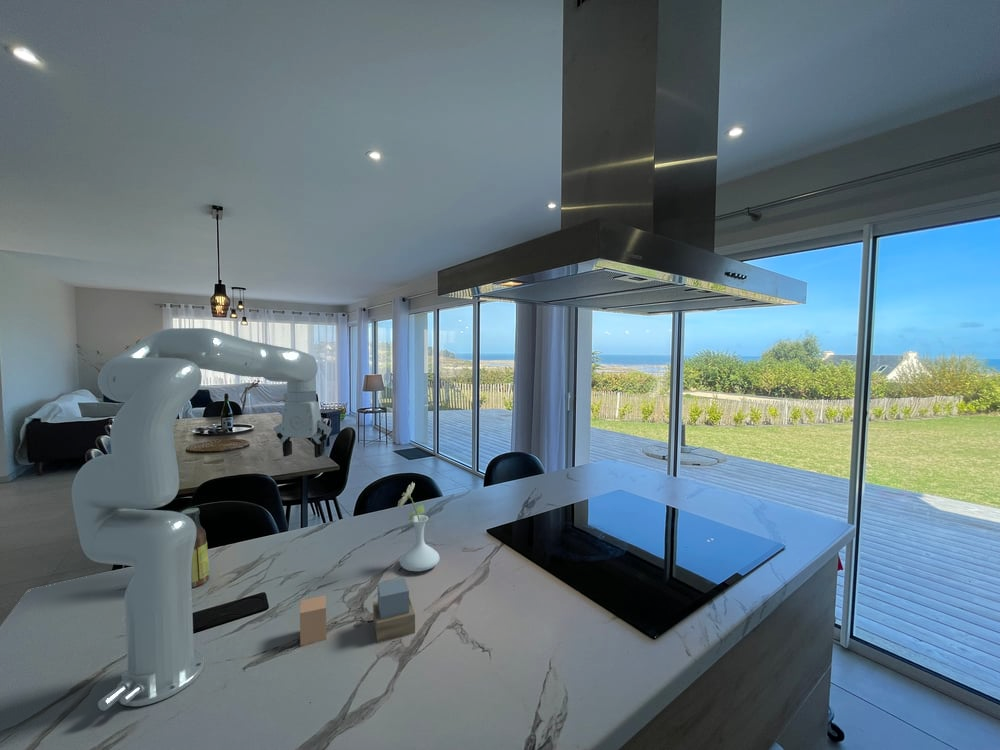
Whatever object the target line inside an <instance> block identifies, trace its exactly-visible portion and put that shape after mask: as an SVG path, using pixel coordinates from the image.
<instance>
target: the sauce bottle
mask: <svg viewBox="0 0 1000 750" xmlns="http://www.w3.org/2000/svg"><path fill="white" fill-rule="evenodd" d="M180 513H182V514H185V515H187V516H188V517H190V518H191V519H192V520H193V521H194V523H195V525H196V530H197V533H196V541H195V546H194V550H193V556H192V566H191V585H192V588H197V587H200V586H202V585H204V584H206V583H207V582H208V581H209V579H210V575H209V574H210V563H209V554H208V553H209V552H208V551H209V550H208V541H207V533H206V530H205V528H204V527H203V526H202V525H201V522H200V513H201V511H200V508H198V507H191V508H186V509H184V510H182V511H180Z"/></svg>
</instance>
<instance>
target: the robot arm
mask: <svg viewBox="0 0 1000 750" xmlns="http://www.w3.org/2000/svg"><path fill="white" fill-rule="evenodd" d="M318 369H319V368H318V363H317V361H316V358H315V356H313V355H310V354H309V353H306V352H304V351H301V350H298V349H294V348H288V347H285V346H278V345H273V344H269V343H263V342H258V341H257V342H256V341H252V340H250V339H249V340H248V339H244V338H242V337H239V336H236V335H233V334H229V333H225V332H223V331H219V330H217V329H216V330H215V329H212V328H211V329H210V328H207V327H206V328H204V327H193V328H192V327H189V328H187V327H186V328H183V327H182V328H180V327H179V328H177V327H175V328H172V327H171V328H167V329H166V328H165V329H164V330H159V331H158V332H155V333H154V334H152V335H150V336H148V337H146V338H144V339H143V340H141V341H139V342H138V343H136V344H135V345H133V346H131V347H129V348H128V349H125V350H124V351H123V352H121V353H119V354H117V355H116V356H114V357H113V358H111V359H110V360H108V362H106V363H105V364H104V365H103V366H102V368H101V369H100V371H99V373H98V376H97V385H98V389H99V390H100V392H101V393H102V395H104V396H105V397H106V398H108V399H109V400H112V401H114V402H117V403H118V402H119V403H123V405H122V407H121V408H120V409H119V411H118V412H117V413H116V416H115V417H114V419H113V420H112V424H111V426H110V431H109V437H110V453H107V454H102V455H98V456H96V457H94V458H91V459H89V460H88V461H87V462H86V463H84V464H83V465H82V466H81V468H80V469H79V470H78V471H77V473H76V474H75V477H74V480H73V483H72V485H71V500H72V506H73V511H74V517H75V523H76V528H77V534H78V538H79V543H80V547H81V549H82V551H83V553H84V554H85V556H86V557H87V558H88V559H89V560H91V561H93V562H96V563H101V564H107V565H118V566H119V565H121V566H130V567H134V573H133V576H132V577H131V579H130V581H129V583H128V585H127V587H126V589H125V594H124V614H125V615H124V616H125V636H126V637H125V638H126V639H125V641H126V661H127V663H126V664H127V669H126V670H125V671H124V672H123V673H121V676H120V677H121V678H120V679H121V681H120V682H119V683H118V684H117V686H116V688H114V689H113V690H112V691H110V692H108V693H107V694H106V695H105V696H104V697H102V698H101V699H100V700H99V701H98V702H97V707H98V708H99V709H100V711H104V712H105V711H107V710H108V709H109V708H111V707H112V706H113V705H115V704H116V703H117V702H118V703H119V704H120V705H122V706H127V707H143V706H147V705H148V706H149V705H151V704H154V703H158V702H160V701H164V700H166V699H168V698H170V697H171V696H173V695H176V694H177V693H180V692H181V691H182V690H184V689H185V688H186V687H187V686H189V685H190V684H191V683H193V682H194V681H195V680H196V679H197V678H198V677H199V676H200V674H201V673H202V671H203V670H204V667H205V657H204V655H203V653H201V652H200V651H199V650H195V649H194V648H195V647H194V623H193V622H194V619H193V595H192V594H193V592H192V585H191V566H192V556H193V550H194V546H195V541H196V533H197V530H196V525H195V523H194V521H193V520H192V519H191V518H190V517H188V516H187V515H185V514H182V513H181V512H178V511H174V510H159V509H157V508H161V507H164V506H166V505H168V504H170V503H171V502H172V501H173V500H174V499H175V498H176V497H177V494H178V492H179V488H180V474H179V466H178V458H177V453H176V452H177V451H176V446H175V445H176V444H175V433H174V430H175V429H174V428H175V423H176V419H178V416H179V415H180V413H181V411H182V410H183V408H184V407H185V406H186V405H187V403H188V402H189V401H191V399H192V398H193V397H194V396H195V395H196V394H197V392H198V391H199V390H200V387H201V384H202V380H203V379H202V377H203V376H202V371H201V370H207V371H213V372H216V373H224V374H229V375H235V376H240V377H250V378H264V379H265V380H267V381H269V382H270V381H271V382H274V383H275V382H278V383H283V382H284V383H286V382H287V383H286V390H287V391H286V393H284V394H283V397H284V398H286V401H287V402H284V404H283V408H282V416H281V423H279V424H277V425H275V426H274V427H273V430H274V432H275V434H276V437H277V438H278V439H279V441H280V444H282V454H283V455H282V456H283V457H285V458H286V457H288V456H291V455H293V442H292V440H291V439H292V438H293V439H294V438H296V439H298V438H299V439H300V438H302V439H306V438H307V439H309V438H312V439H313V441H314V445H313V446H314V450H313V451H314V458H320V457H322V456H323V455H324V443H325V442H326V440H327V439H328V438H329V437H330V434H331V432H332V430H333V429H332V427H331V426H329V425H327V424H325V423H323V422H322V415H321V407H320V404H319V401H317V380H316V379H317V373H318ZM322 430H323V434H322Z"/></svg>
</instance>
